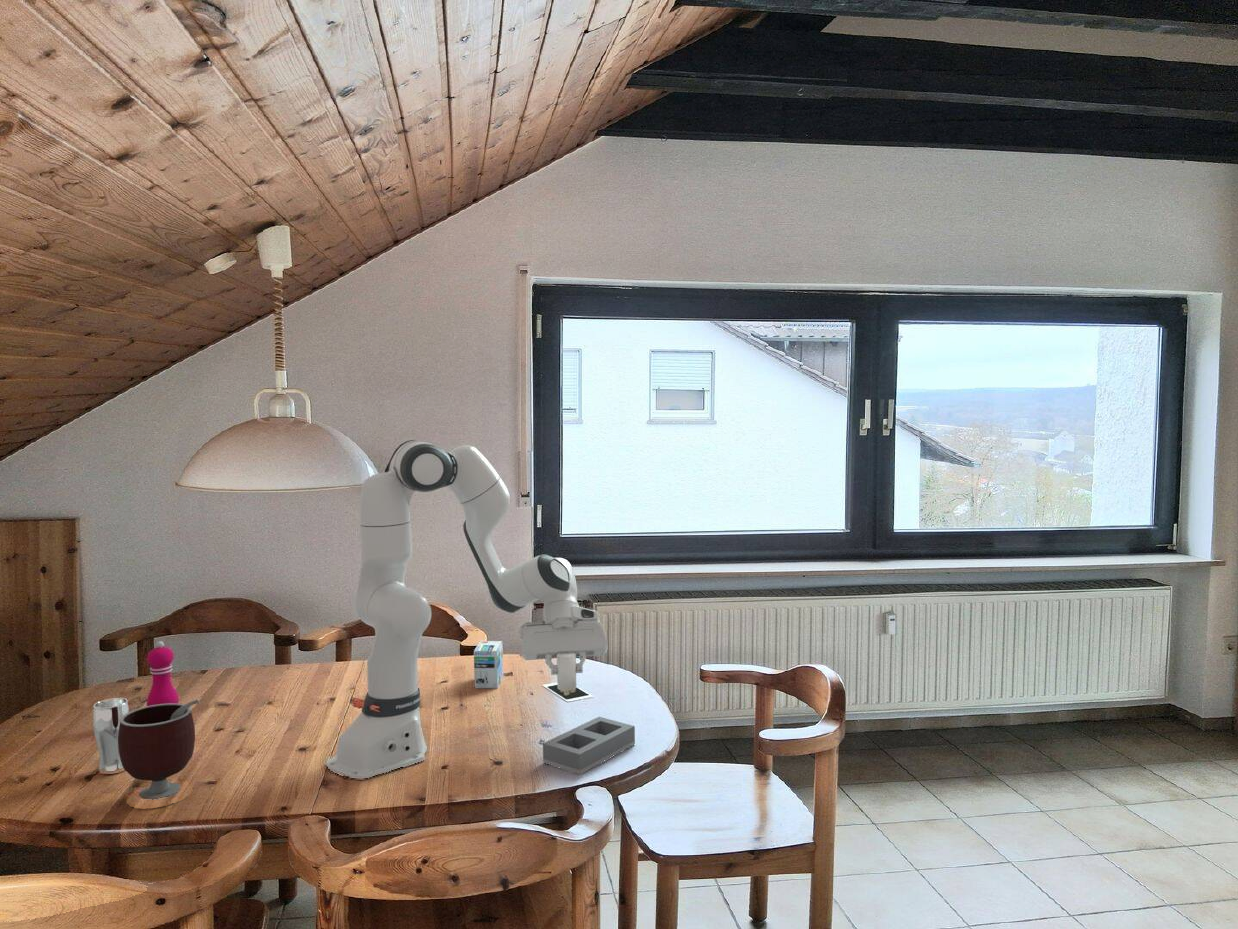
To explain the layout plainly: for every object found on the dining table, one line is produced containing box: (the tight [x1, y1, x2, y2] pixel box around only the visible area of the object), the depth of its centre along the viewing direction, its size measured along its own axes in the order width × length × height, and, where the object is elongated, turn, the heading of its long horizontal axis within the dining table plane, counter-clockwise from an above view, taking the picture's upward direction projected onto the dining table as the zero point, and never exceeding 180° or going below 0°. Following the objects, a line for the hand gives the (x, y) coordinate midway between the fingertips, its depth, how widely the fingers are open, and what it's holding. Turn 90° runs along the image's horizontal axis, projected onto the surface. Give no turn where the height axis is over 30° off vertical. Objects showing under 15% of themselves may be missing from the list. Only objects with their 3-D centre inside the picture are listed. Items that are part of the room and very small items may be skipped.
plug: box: [556, 652, 577, 695], centre depth 206 cm, size 4×4×9 cm
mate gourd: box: [118, 699, 199, 800], centre depth 181 cm, size 16×14×20 cm
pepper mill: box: [146, 640, 180, 706], centre depth 225 cm, size 7×7×20 cm
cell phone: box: [542, 681, 594, 703], centre depth 244 cm, size 8×16×1 cm, turn 30°
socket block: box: [542, 716, 636, 775], centre depth 200 cm, size 20×10×4 cm, turn 143°
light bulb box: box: [473, 640, 504, 689], centre depth 251 cm, size 11×7×11 cm, turn 179°
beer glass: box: [92, 697, 130, 772], centre depth 194 cm, size 7×7×15 cm
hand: (567, 672), depth 205 cm, fingers closed on plug, 4 cm apart
